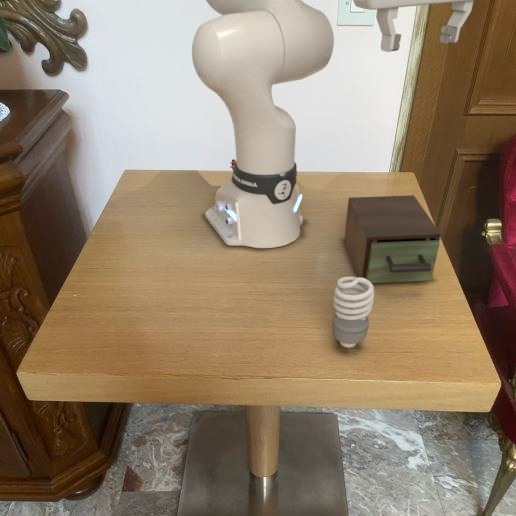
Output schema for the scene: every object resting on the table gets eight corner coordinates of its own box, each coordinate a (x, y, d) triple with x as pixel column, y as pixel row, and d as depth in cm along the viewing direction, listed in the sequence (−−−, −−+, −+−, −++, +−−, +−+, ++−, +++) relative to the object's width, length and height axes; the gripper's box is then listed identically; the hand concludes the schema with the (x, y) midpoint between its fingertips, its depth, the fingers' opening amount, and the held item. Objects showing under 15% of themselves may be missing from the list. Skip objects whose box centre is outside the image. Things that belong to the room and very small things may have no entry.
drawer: (439, 294, 89) (448, 256, 84) (372, 297, 88) (378, 259, 84) (407, 240, 103) (414, 205, 98) (350, 243, 103) (354, 208, 98)
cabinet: (430, 279, 94) (441, 233, 88) (360, 282, 93) (367, 236, 88) (405, 237, 106) (413, 195, 100) (344, 240, 105) (348, 197, 100)
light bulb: (331, 358, 78) (338, 291, 70) (326, 335, 82) (332, 269, 74) (369, 358, 78) (380, 290, 70) (362, 334, 82) (372, 268, 74)
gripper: (491, -99, 62) (463, 34, 71) (349, -98, 55) (338, 50, 64) (534, -100, 58) (499, 42, 67) (387, -99, 51) (369, 60, 60)
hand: (419, 46), depth 65 cm, fingers open, 8 cm apart
